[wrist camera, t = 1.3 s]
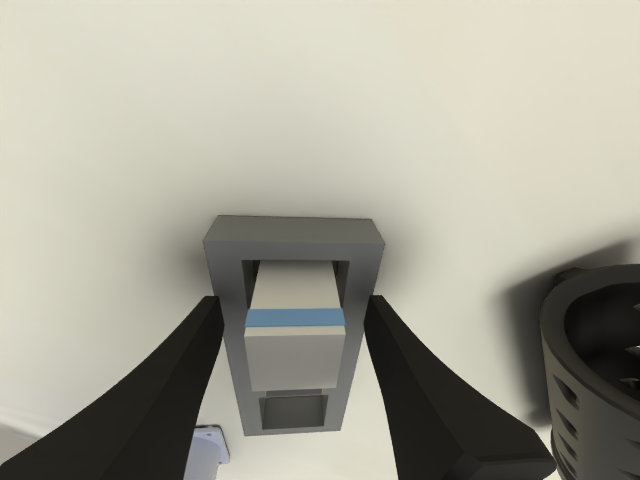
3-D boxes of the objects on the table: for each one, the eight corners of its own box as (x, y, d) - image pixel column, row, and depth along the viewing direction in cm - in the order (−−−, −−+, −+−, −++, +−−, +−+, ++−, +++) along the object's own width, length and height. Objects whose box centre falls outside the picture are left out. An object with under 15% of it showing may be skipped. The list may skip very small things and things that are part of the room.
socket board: (249, 404, 23) (242, 448, 20) (218, 215, 13) (196, 251, 10) (336, 400, 23) (341, 442, 21) (372, 219, 13) (390, 253, 11)
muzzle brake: (642, 227, 15) (1104, 418, 7) (610, 405, 29) (745, 544, 20) (487, 291, 17) (681, 503, 9) (525, 429, 31) (615, 565, 22)
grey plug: (266, 292, 16) (251, 392, 11) (263, 242, 14) (242, 335, 9) (324, 292, 16) (337, 388, 11) (329, 244, 14) (347, 333, 9)
